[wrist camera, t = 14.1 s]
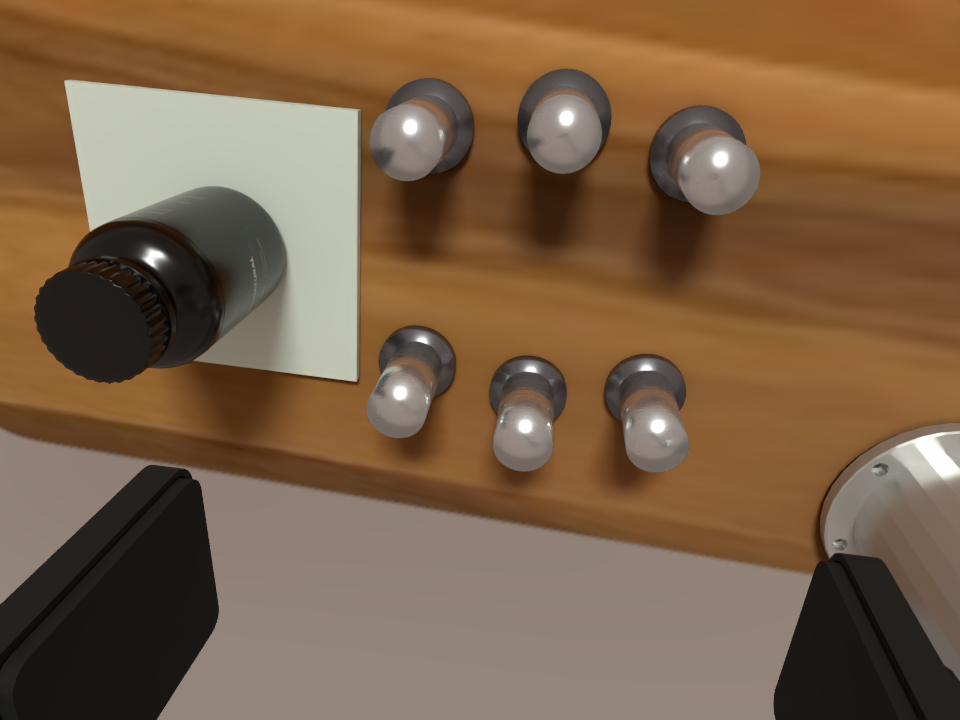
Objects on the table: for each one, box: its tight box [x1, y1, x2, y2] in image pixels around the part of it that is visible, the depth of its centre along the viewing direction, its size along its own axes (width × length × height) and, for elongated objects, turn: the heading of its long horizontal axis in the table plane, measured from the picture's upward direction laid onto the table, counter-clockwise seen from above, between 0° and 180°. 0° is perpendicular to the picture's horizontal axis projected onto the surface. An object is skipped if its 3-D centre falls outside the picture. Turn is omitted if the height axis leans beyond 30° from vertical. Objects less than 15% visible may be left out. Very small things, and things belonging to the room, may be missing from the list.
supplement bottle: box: [34, 186, 285, 384], centre depth 32 cm, size 7×7×12 cm
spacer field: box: [366, 69, 760, 473], centre depth 34 cm, size 17×19×6 cm
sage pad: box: [64, 80, 361, 382], centre depth 37 cm, size 15×15×1 cm
